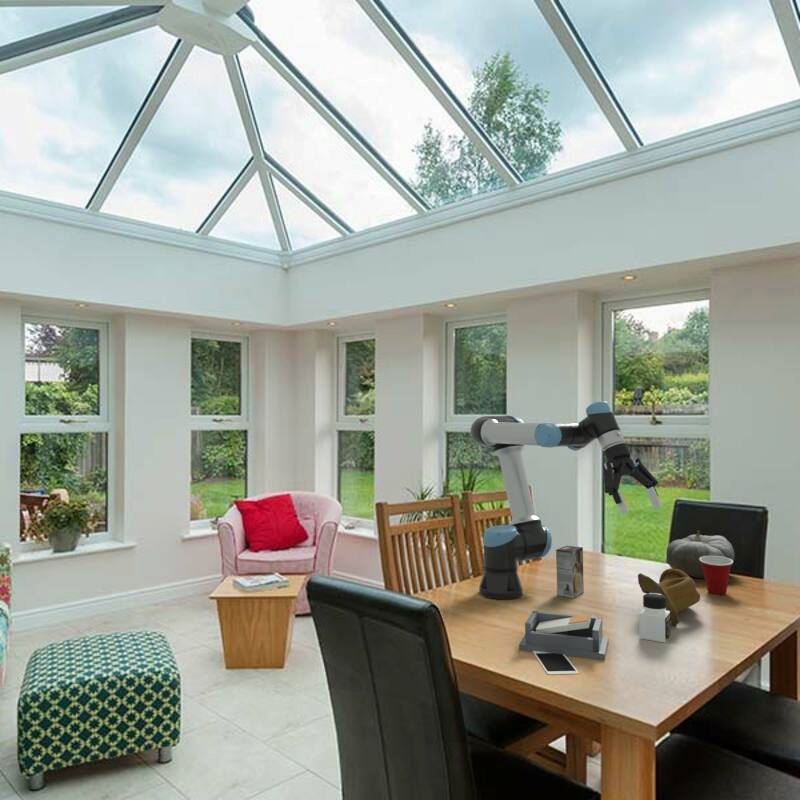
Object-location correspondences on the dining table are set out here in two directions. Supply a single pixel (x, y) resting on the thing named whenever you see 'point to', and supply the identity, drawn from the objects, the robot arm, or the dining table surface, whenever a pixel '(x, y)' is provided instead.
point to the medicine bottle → (654, 618)
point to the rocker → (564, 624)
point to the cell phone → (555, 663)
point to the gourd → (697, 552)
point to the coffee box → (569, 571)
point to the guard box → (565, 637)
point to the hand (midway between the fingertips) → (642, 510)
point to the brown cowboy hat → (672, 591)
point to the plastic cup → (716, 573)
